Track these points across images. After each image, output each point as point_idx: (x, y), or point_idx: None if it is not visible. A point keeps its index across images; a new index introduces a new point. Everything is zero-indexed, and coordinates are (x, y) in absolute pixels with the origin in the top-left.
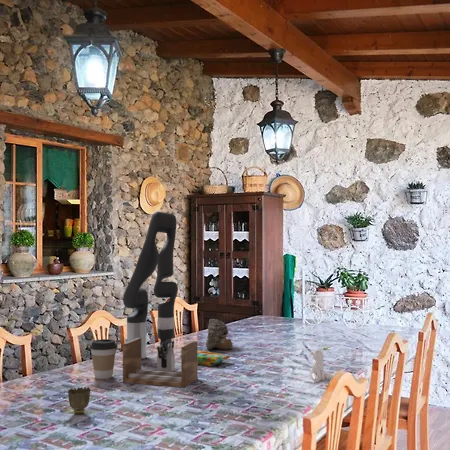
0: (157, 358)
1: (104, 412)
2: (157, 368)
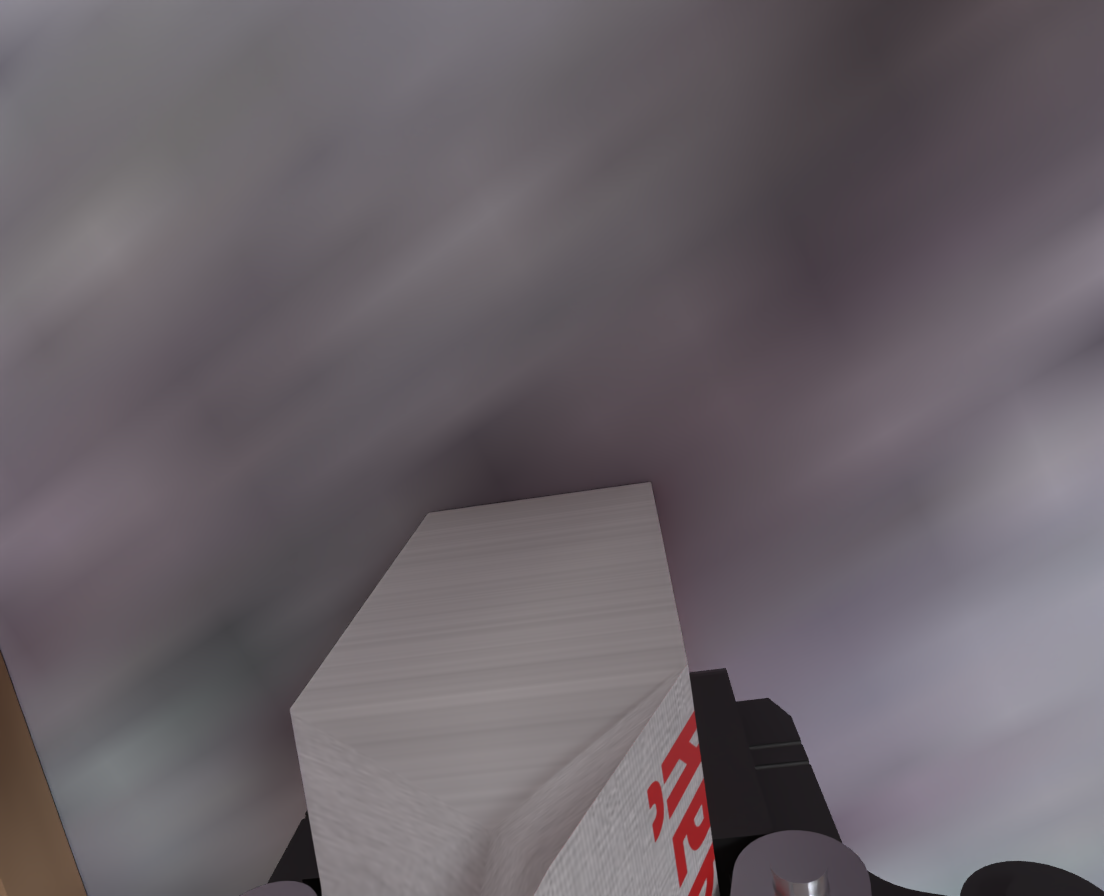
0: (319, 689)
1: None
2: (414, 543)
